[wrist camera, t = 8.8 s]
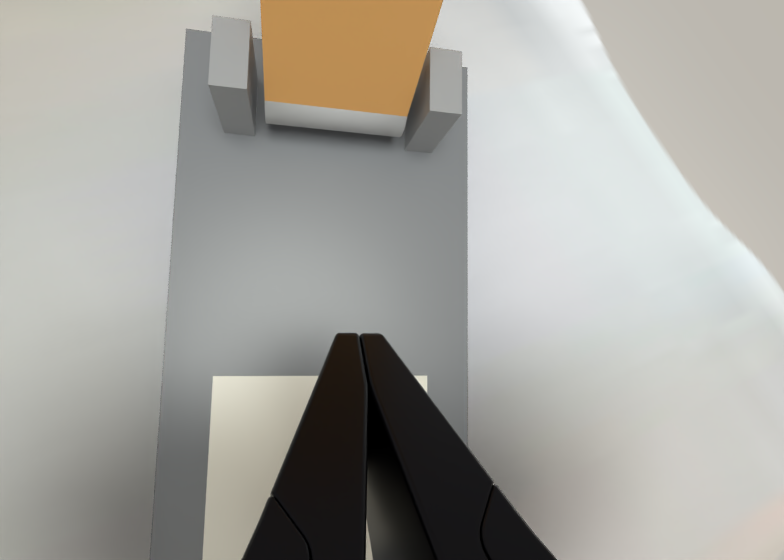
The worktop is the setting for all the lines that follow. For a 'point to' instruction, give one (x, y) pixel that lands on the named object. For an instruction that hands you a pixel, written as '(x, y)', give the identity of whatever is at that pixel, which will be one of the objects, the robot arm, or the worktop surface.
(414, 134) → the switch panel
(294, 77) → the orange lever
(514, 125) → the worktop surface
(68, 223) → the worktop surface
